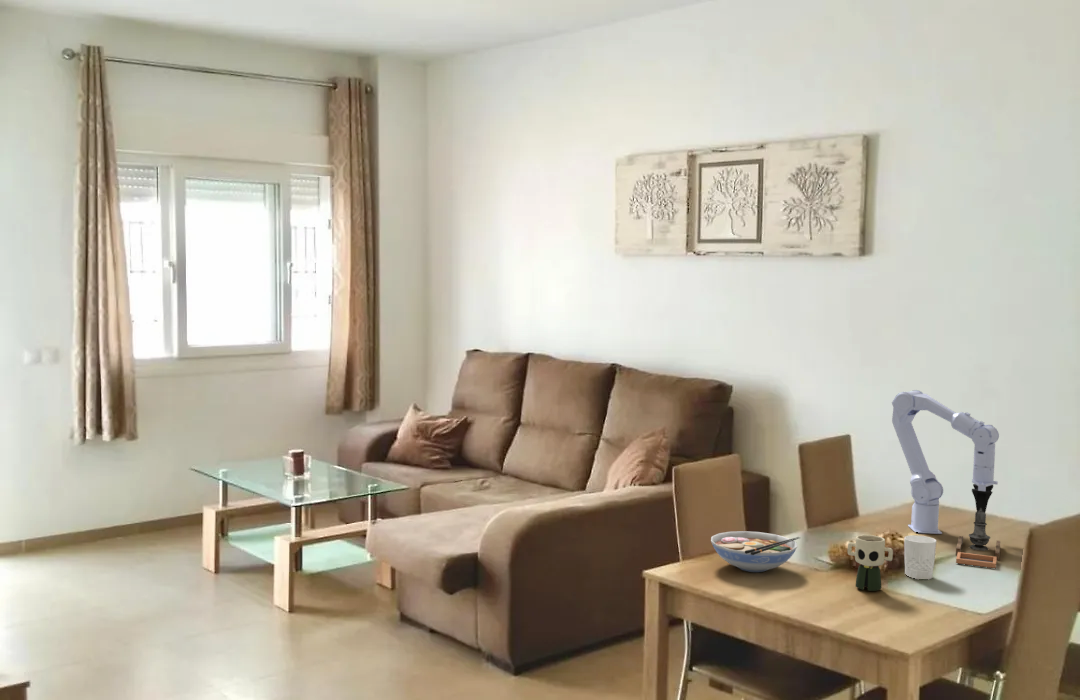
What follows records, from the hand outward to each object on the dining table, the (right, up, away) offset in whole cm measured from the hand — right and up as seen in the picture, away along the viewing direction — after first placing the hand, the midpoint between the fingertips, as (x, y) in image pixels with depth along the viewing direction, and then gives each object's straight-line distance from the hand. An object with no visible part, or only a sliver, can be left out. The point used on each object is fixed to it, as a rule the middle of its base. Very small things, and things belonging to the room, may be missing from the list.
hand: (981, 510), depth 305 cm
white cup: (-33, -12, -37) cm, 51 cm away
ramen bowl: (-76, -10, -34) cm, 83 cm away
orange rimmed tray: (-6, -10, -11) cm, 16 cm away
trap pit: (-12, -11, -23) cm, 28 cm away
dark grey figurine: (-4, -10, -7) cm, 13 cm away
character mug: (-50, -12, -50) cm, 72 cm away
